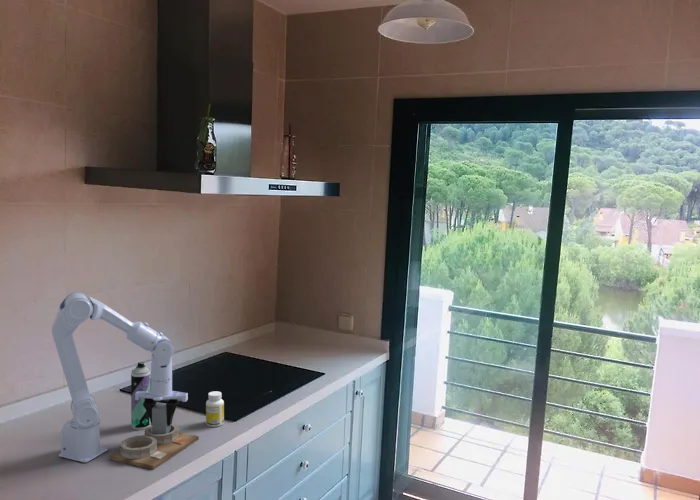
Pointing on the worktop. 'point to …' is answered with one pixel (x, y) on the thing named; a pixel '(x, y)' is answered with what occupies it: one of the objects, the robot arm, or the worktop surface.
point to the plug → (160, 419)
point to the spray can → (138, 412)
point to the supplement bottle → (214, 409)
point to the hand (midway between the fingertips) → (161, 424)
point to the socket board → (153, 447)
